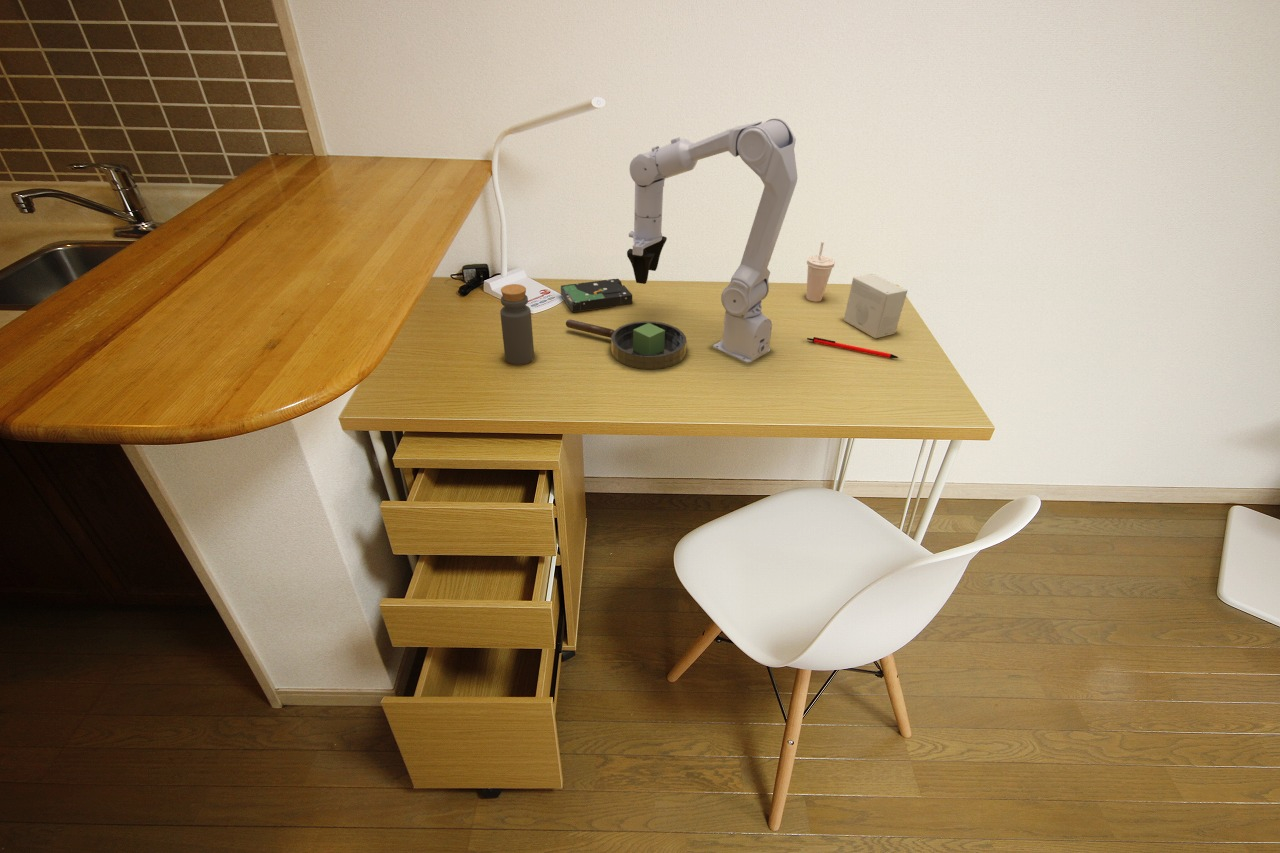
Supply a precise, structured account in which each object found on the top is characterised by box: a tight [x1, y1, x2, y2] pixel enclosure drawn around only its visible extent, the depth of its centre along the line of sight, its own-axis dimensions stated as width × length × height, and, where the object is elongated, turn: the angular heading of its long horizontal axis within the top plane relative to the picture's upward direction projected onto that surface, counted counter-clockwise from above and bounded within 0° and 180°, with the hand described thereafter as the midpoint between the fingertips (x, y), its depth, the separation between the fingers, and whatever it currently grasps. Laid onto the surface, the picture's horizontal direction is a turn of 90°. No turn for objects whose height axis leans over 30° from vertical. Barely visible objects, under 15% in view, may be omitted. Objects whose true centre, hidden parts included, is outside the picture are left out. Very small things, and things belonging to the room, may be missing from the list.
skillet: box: [610, 320, 687, 370], centre depth 136 cm, size 15×15×3 cm
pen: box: [806, 336, 900, 359], centre depth 139 cm, size 1×19×1 cm, turn 67°
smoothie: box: [805, 241, 836, 303], centre depth 156 cm, size 6×6×14 cm
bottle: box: [499, 283, 535, 366], centre depth 129 cm, size 6×6×15 cm
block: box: [633, 323, 665, 355], centre depth 135 cm, size 5×5×5 cm
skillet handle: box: [565, 319, 615, 339], centre depth 140 cm, size 12×2×2 cm, turn 65°
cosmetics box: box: [843, 273, 908, 339], centre depth 145 cm, size 10×6×10 cm, turn 28°
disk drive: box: [560, 278, 633, 313], centre depth 156 cm, size 10×3×15 cm
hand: (646, 276), depth 143 cm, fingers open, 7 cm apart
